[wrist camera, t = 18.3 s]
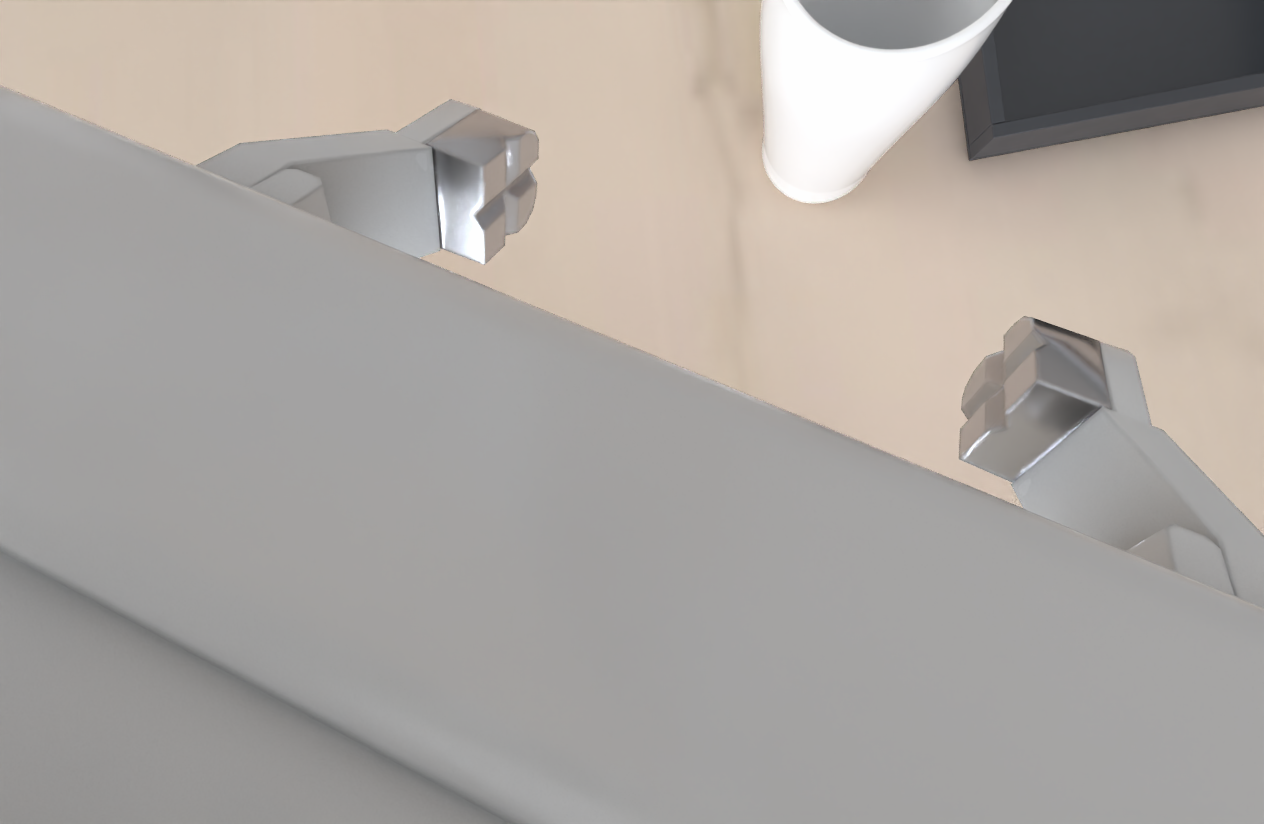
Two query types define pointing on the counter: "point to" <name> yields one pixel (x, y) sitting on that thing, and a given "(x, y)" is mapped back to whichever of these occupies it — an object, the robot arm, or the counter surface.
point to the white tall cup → (856, 81)
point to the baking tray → (1109, 69)
